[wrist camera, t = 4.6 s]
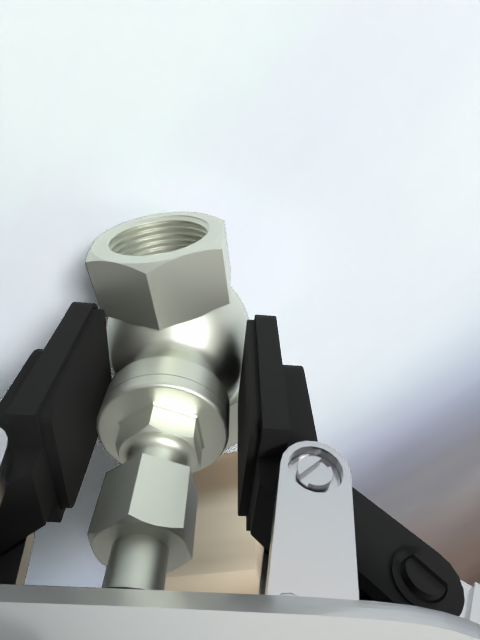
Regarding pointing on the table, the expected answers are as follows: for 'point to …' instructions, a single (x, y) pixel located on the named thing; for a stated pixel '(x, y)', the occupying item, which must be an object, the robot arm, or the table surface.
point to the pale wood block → (219, 537)
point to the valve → (162, 386)
